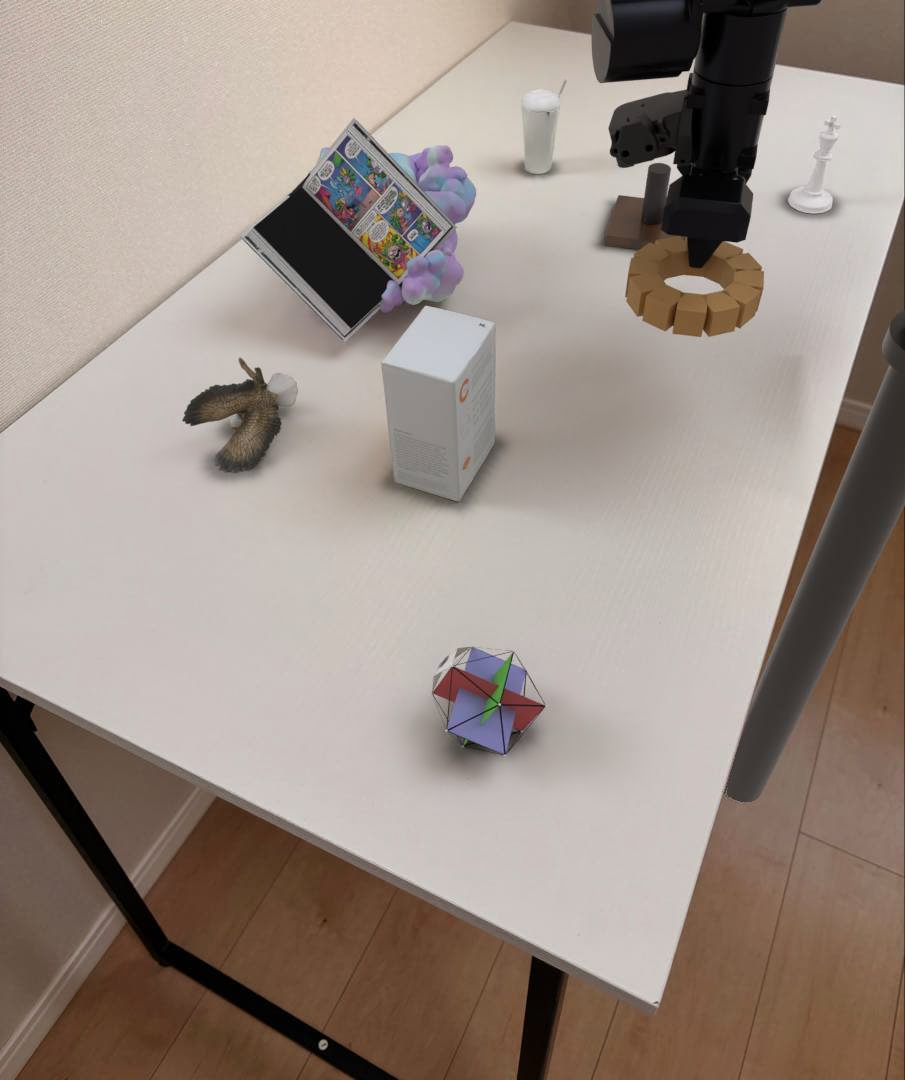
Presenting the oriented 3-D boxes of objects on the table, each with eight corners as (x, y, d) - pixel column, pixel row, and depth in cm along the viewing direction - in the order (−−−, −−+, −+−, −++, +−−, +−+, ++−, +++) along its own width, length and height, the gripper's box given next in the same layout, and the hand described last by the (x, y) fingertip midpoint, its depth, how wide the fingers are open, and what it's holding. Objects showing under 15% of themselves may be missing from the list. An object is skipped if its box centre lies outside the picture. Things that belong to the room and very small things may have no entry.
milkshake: (568, 171, 115) (574, 87, 107) (528, 180, 114) (532, 96, 106) (552, 154, 118) (557, 72, 110) (513, 163, 116) (515, 80, 109)
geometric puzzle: (574, 681, 64) (507, 611, 60) (556, 770, 60) (483, 701, 56) (492, 697, 68) (424, 633, 65) (469, 781, 64) (395, 718, 60)
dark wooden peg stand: (695, 213, 108) (706, 153, 102) (686, 255, 102) (697, 193, 97) (617, 204, 109) (624, 144, 104) (604, 245, 104) (610, 183, 98)
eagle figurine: (222, 384, 87) (167, 432, 81) (253, 334, 83) (197, 380, 76) (286, 438, 88) (236, 489, 82) (321, 391, 84) (271, 441, 77)
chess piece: (804, 187, 111) (828, 102, 103) (840, 203, 108) (867, 117, 101) (779, 202, 109) (801, 116, 101) (814, 218, 106) (840, 131, 99)
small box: (431, 424, 85) (425, 302, 75) (496, 443, 83) (498, 320, 73) (391, 483, 80) (378, 361, 70) (459, 504, 78) (456, 382, 69)
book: (472, 177, 105) (379, 41, 92) (533, 275, 90) (432, 129, 78) (331, 287, 110) (225, 172, 97) (367, 396, 95) (247, 277, 83)
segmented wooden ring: (758, 267, 81) (765, 242, 79) (756, 343, 74) (762, 318, 72) (633, 254, 83) (636, 229, 81) (619, 327, 76) (622, 303, 74)
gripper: (640, 13, 76) (619, 193, 88) (603, 116, 64) (585, 308, 76) (781, 23, 74) (740, 207, 86) (771, 132, 62) (725, 327, 74)
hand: (697, 258), depth 80 cm, fingers closed on segmented wooden ring, 2 cm apart
